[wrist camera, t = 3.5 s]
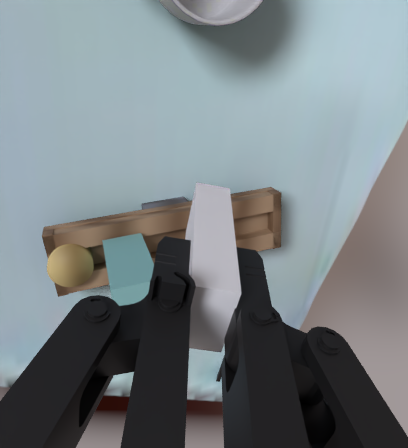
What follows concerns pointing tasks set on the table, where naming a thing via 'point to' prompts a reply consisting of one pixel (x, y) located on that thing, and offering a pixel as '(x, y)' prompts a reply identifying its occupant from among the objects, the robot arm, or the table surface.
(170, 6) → the teacup
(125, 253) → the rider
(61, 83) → the table surface
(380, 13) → the table surface
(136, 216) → the beam
